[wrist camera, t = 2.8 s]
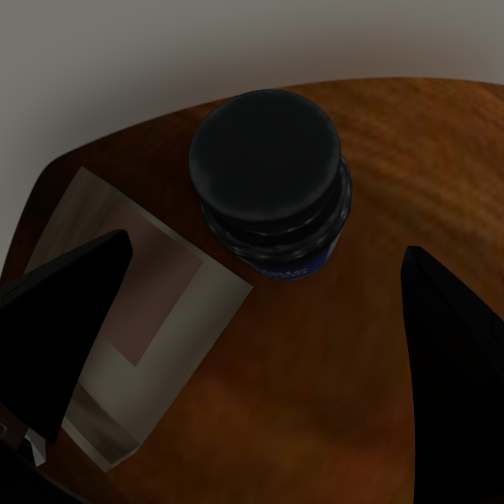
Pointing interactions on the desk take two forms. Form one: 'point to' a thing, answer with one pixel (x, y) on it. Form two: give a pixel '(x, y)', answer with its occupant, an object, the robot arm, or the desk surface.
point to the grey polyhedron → (37, 447)
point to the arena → (137, 318)
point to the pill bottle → (272, 181)
